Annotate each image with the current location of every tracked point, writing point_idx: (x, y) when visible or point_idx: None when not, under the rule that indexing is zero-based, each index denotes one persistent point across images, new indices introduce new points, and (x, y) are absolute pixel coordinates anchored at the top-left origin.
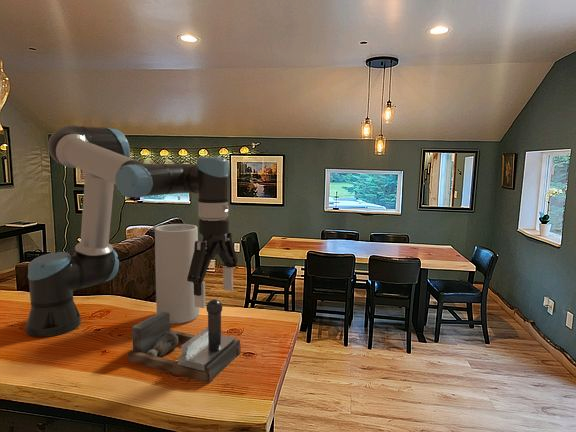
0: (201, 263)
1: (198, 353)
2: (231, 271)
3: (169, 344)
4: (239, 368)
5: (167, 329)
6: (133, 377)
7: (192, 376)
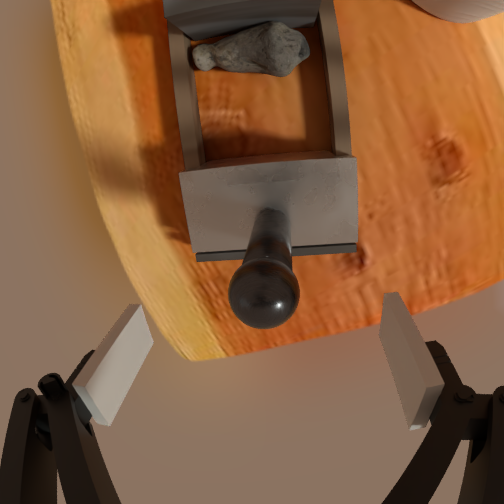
0: (47, 498)
1: (226, 204)
2: (405, 413)
3: (254, 68)
4: None
5: (305, 15)
6: (134, 90)
7: None
